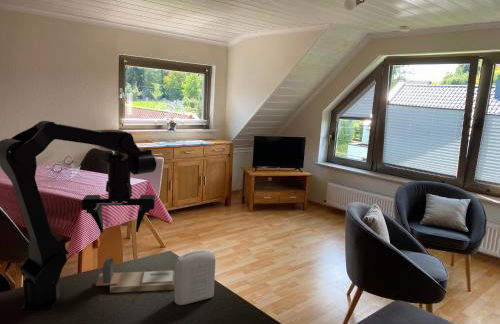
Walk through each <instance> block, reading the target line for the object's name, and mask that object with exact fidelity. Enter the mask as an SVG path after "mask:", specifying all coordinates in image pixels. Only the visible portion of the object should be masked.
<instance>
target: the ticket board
mask: <svg viewBox="0 0 500 324" xmlns="http://www.w3.org/2000/svg"><path fill="white" fill-rule="evenodd" d="M120 272H121V271H120ZM169 290H170V291H172V290H174V291H175V269H174V270H153V271H151V270H150V271H149V270H148V271H127V272H121V274H120V277H119V281H118V284H117V285H109V293H110V294H115V293H129V292H130V293H131V292H134V293H135V292H149V291H150V292H151V291H152V292H153V291H169Z"/></svg>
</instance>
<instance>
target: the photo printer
mask: <svg viewBox="0 0 500 324" xmlns="http://www.w3.org/2000/svg"><path fill="white" fill-rule="evenodd" d="M174 267H175V268H174V270H175V278H174V303H175V304H176V305H178V306H183V305H188V304H193V303H196V302H199V301H204V300H207V299H210V298H213V297H214V296H215V280H216V279H215V277H216V275H215V274H216V257H215V253H214V252H212V251H211V250H195V251H190V252H188V253H185V254H182V255H180V256H179V257H177V258H176V259H175V266H174Z"/></svg>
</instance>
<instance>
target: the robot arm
mask: <svg viewBox="0 0 500 324" xmlns="http://www.w3.org/2000/svg"><path fill="white" fill-rule="evenodd" d="M54 140H58V141H66V142H71V143H80V144H85V145H86V144H87V145H94V146H97V147H99V148H101V149H105V150H108V151H110V152H108V151H107V152H106V151H105V152H104V154H103V155H102V156H101V157H100V158H99V161H100V162H104V163H107V181H106V184H105V192H106V193H108V194H107V195H108V196H107V198H101V195H100V194H86V195H85V196H84V197H83V198H82V200H81V201H80V210H82V211H85V212H86V214H90V215H91V217H92V218H93V220H94V221H95V224H96V225H97V227H98V229H99V232H100V233H101V234H103V233H104V221H103V219H104V218H103V211H102V210H103V206H106V207H107V206H138V210H137V216H136V217H137V218H136V224H135V226H136V227H135V233H139V230H140V226H141V223H142V221H143V218H144V216H145V214H147V213H150V210H155V208H156V206H155V205H156V196H155V195H154V194H140V197H138V198H137V197H135V198H131V197H132V196H133V186H132V183H131V174H132V175H134V176H136V175H143V174H148V173H153V172H155V171H156V169H157V161H156V158H155V155H154V154H152V153H153V152H152V151H153V150H152V149H150V148H144V149H140V148H139V147H138V145H137V144H136V143H135V139H134V136H133V135H132V133H131V132H130V131H129V132H128V131H124V130H117V129H100V130H99V129H96V130H93V129H88V128H84V127H78V126H72V125H66V124H59V123H57V122H54V121H49V120H41V121H39V122H37V123H36V124H34V125H33V126H31V127H29V128H27V129H26V130H23V131H21V132H19V133H17V134H15V135H14V136H12V137H11V138H3V139H1V140H0V168H1V170H2V171H3V173H5V175H6V176H7V178H8V179H9V180H10V182H11V184H12V187H13V190H14V193H15V196H16V199H17V202H18V206H19V209H20V211H21V214H22V217H23V220H24V224H25V226H26V231H27V232H28V235H29V241H28V246H27V247H28V257H27V258H26V259H25V261H24V262H23V264H21V265H20V267H19V268H18V269H19V270H18V271H19V272H20V275H21V276H23V277H24V278H25V279H24V280H23V297H24V299H23V300H24V304H23V305H22V306H21V311H28V310H29V311H30V310H31V311H32V310H44V309H47V310H48V309H49V310H50V309H52V308H53V307H54V305H55V303H56V302H57V301H58V299H59V298H60V295H61V294H60V290H61V289H60V281H59V280H60V277H61V274H62V270H63V268H64V267H65V265H66V264H67V261H68V258H67V255H69V254H70V253H69V251H68V250H67V248H66V242H65V239H64V238H63V237H61V236H60V235H59V236H58V235H57V234H55V233H54V232H52V229H51V227H50V223H49V219H48V217H47V213H46V210H45V206H44V203H43V200H42V197H41V193H40V190H39V187H38V184H37V181H36V173H37V168H38V165H37V156H39V155H40V154H41V153H43V152H44V151H45V150H46V149H47V148H48V146H49V145H50V144H51V143H52V142H53V141H54ZM112 152H116V153H117V154H113V153H112ZM125 155H127V156H125Z"/></svg>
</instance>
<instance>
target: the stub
mask: <svg viewBox="0 0 500 324" xmlns="http://www.w3.org/2000/svg"><path fill="white" fill-rule="evenodd" d="M114 267H115V266H114V257H106V258H105V260H104V263H103V265H102V272H100V273H99V275H98V278H97V280H96V282H95V286H97V287H98V286H110V285H117V284H118V281H119V277H120V274H121V271H120V272H115V271H114V269H115V268H114Z"/></svg>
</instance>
